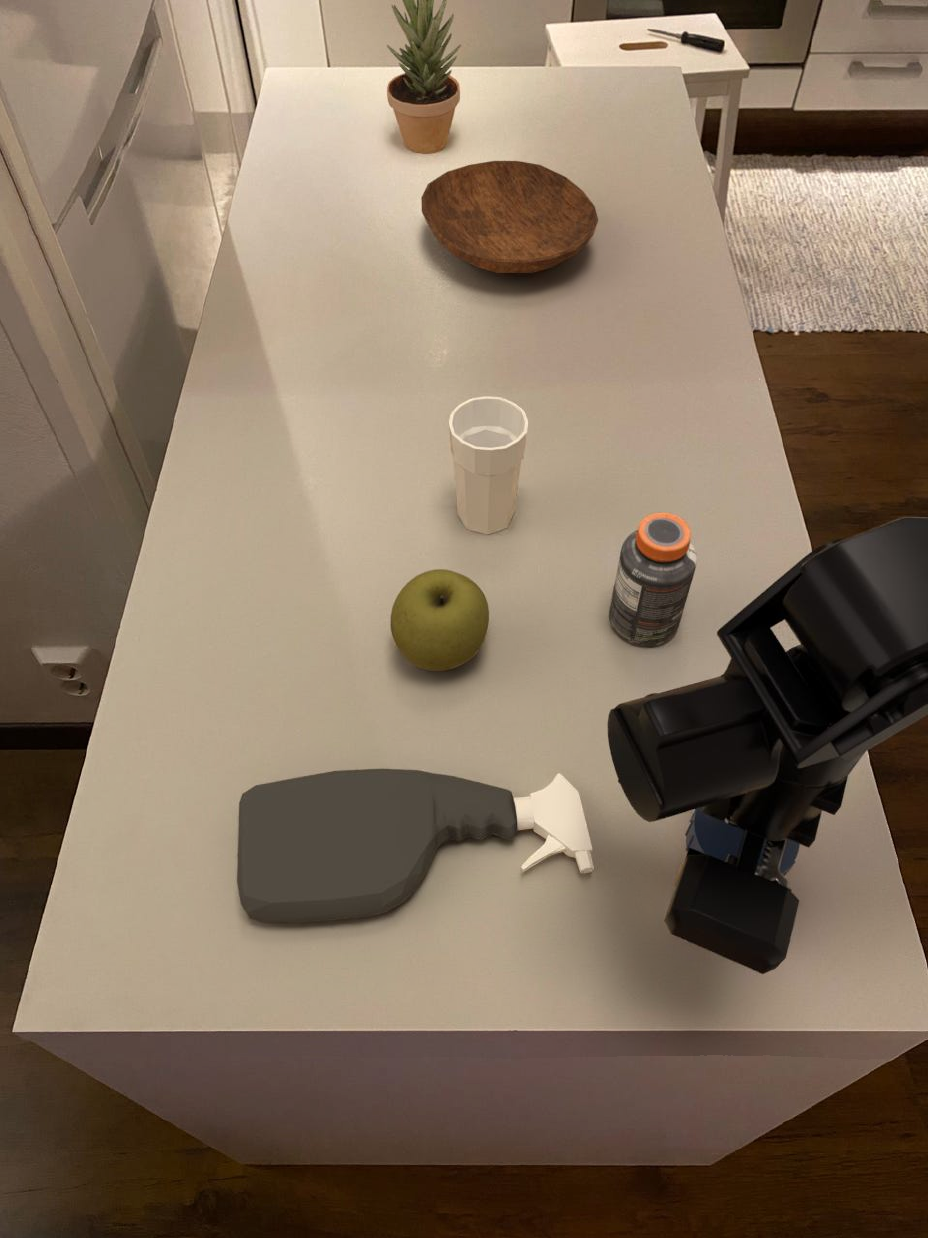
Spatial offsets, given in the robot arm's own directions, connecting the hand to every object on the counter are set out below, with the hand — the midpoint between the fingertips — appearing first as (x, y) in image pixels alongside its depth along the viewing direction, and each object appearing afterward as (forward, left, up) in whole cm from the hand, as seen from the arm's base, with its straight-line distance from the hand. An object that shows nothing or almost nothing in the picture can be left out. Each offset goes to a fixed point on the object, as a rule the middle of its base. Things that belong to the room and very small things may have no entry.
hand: (726, 858), depth 62 cm
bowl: (-16, -79, -6) cm, 81 cm away
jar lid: (0, 0, +2) cm, 2 cm away
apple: (+11, -26, -6) cm, 29 cm away
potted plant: (-15, -106, -6) cm, 107 cm away
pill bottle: (-6, -23, -6) cm, 24 cm away
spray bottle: (+18, -10, -6) cm, 22 cm away
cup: (+2, -39, -6) cm, 39 cm away
